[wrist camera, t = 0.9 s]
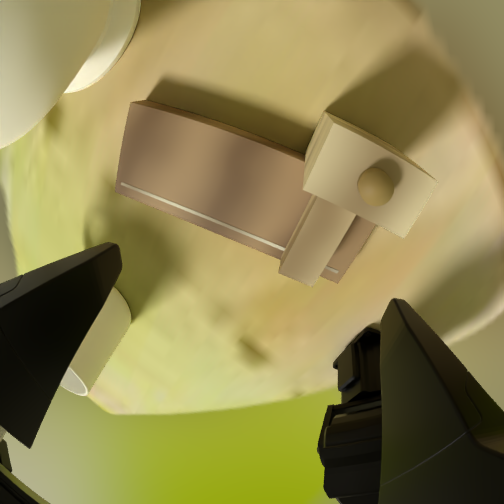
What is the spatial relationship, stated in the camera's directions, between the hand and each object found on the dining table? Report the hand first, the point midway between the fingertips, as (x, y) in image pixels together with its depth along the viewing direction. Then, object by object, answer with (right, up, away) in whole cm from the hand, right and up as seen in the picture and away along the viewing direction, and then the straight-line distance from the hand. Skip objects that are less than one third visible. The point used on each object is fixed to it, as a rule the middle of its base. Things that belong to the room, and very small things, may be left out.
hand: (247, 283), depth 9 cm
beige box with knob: (+5, +5, +10) cm, 13 cm away
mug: (-17, -3, +21) cm, 27 cm away
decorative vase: (-14, +20, +6) cm, 25 cm away
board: (0, +6, +11) cm, 13 cm away
